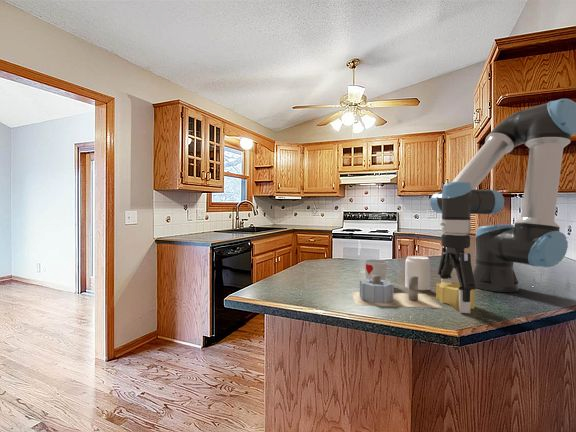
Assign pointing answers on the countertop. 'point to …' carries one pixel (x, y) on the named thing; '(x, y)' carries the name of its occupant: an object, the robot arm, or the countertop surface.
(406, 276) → the beverage can
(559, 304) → the countertop surface
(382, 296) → the gear
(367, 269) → the cup
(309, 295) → the countertop surface
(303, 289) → the countertop surface
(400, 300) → the gear board
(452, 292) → the gear
